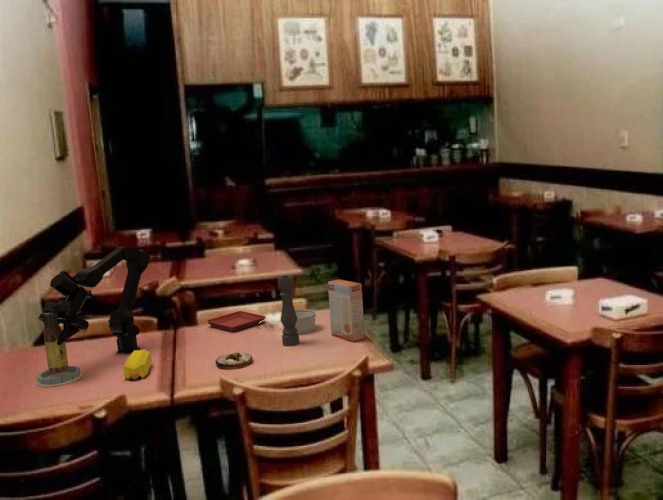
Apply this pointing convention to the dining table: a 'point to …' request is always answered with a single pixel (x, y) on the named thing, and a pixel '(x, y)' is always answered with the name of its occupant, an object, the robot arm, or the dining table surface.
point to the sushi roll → (234, 360)
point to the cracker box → (346, 310)
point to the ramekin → (305, 320)
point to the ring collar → (59, 377)
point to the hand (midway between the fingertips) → (51, 343)
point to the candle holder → (288, 311)
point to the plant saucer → (236, 321)
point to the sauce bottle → (54, 344)
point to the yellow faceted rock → (137, 364)
